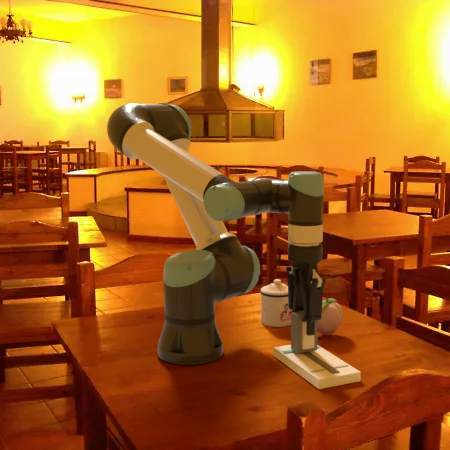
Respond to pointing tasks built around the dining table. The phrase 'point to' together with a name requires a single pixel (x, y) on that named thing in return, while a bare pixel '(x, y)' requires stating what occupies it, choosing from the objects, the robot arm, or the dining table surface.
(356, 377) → the slider console
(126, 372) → the dining table surface
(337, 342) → the dining table surface
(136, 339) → the dining table surface
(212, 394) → the dining table surface
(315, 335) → the fader tab
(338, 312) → the decorative fruit
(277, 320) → the teacup with lid
